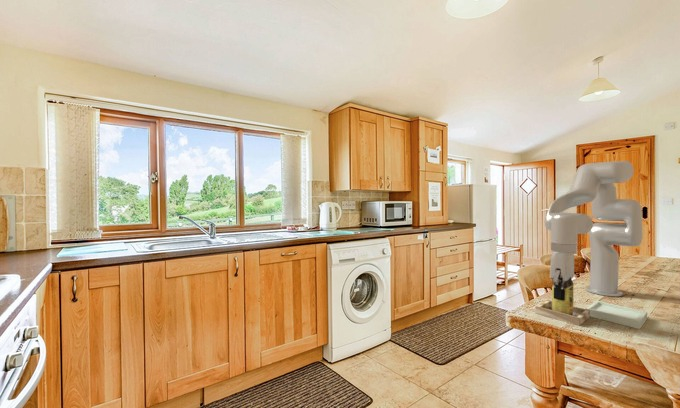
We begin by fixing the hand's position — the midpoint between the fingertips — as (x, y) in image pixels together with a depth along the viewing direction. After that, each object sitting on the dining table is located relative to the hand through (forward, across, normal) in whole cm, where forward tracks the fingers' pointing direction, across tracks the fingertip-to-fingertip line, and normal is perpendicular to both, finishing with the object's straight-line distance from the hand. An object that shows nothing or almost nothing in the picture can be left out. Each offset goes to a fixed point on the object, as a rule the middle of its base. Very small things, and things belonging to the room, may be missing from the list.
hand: (562, 297), depth 107 cm
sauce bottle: (+7, 0, 0) cm, 7 cm away
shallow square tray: (+7, -14, +12) cm, 20 cm away
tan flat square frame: (+7, 0, 0) cm, 7 cm away
